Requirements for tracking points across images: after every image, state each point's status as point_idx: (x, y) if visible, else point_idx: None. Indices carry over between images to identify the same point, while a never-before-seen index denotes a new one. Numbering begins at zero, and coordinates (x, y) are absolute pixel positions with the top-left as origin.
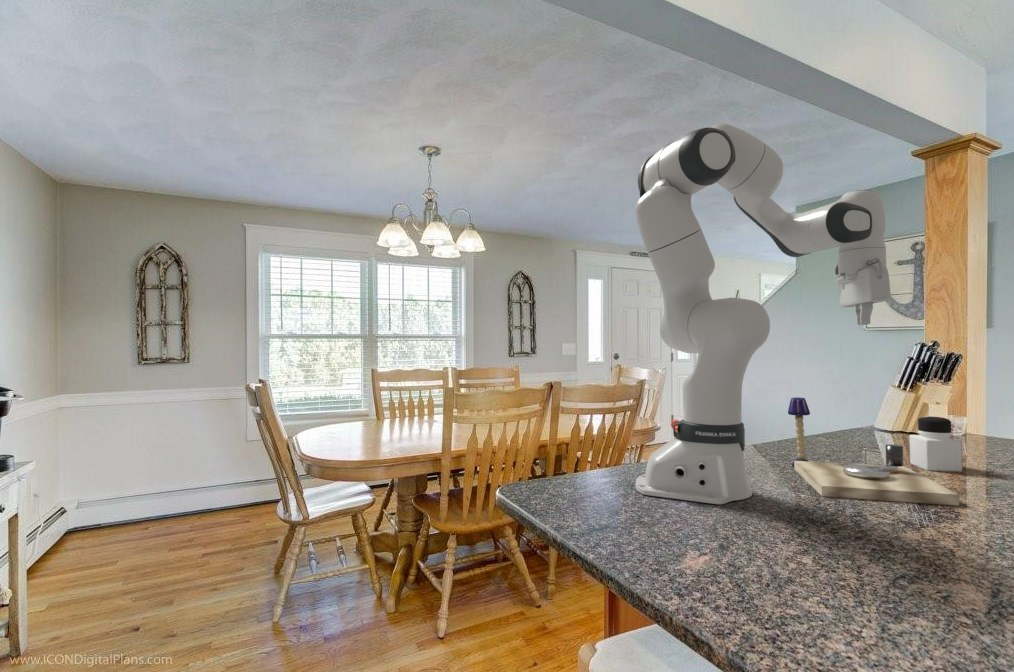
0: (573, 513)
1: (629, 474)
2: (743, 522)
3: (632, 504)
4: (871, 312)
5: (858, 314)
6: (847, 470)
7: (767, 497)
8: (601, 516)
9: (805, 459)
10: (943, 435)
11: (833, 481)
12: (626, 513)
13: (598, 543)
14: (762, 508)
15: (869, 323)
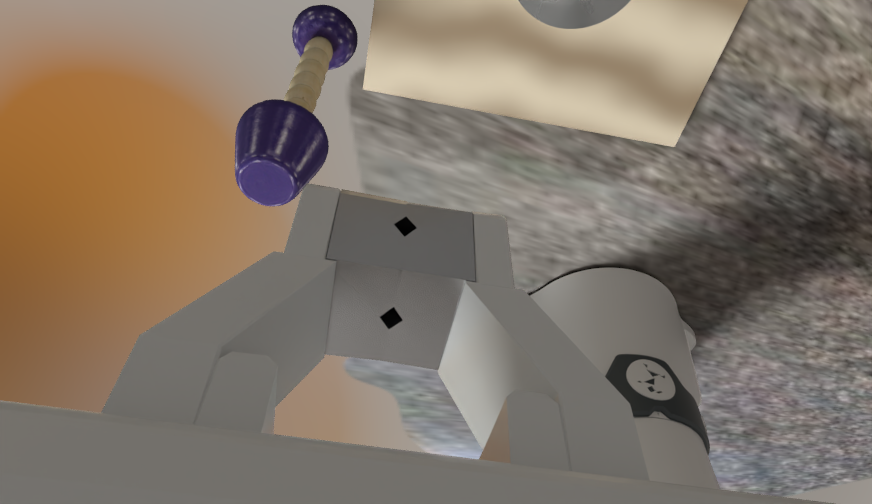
0: None
1: (459, 418)
2: (792, 326)
3: None
4: (568, 342)
5: (297, 372)
6: (580, 26)
7: (656, 246)
8: None
9: (321, 35)
10: None
11: (637, 96)
12: None
13: (811, 473)
14: (727, 278)
15: (500, 221)
